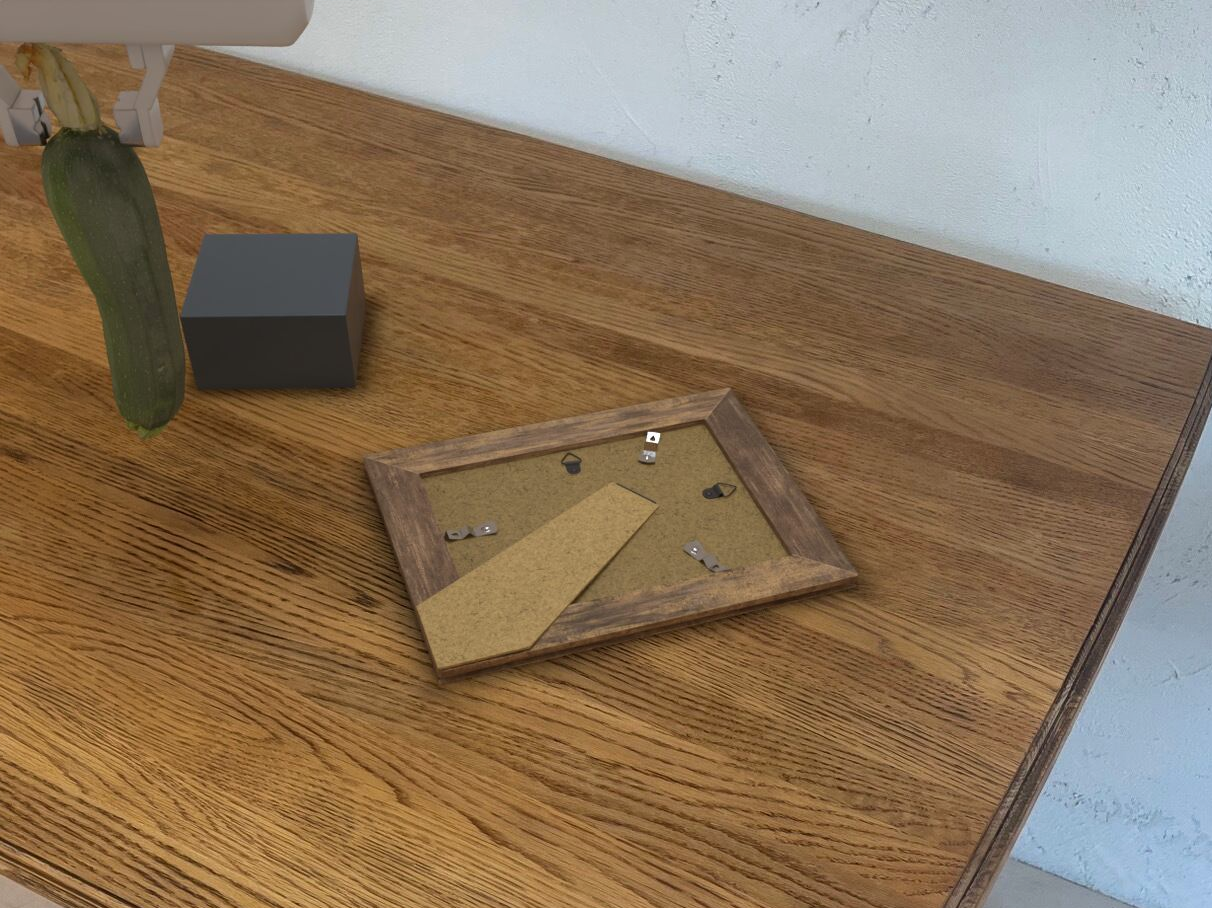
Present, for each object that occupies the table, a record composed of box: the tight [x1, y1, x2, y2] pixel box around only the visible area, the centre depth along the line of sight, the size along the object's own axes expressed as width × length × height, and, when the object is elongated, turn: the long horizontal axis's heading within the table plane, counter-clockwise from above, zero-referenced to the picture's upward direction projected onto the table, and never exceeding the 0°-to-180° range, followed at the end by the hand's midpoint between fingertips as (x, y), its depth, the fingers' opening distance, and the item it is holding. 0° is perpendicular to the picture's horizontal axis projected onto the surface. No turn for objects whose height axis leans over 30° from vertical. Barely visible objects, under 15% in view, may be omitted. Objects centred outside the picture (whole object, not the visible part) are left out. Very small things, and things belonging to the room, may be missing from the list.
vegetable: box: [13, 43, 187, 441], centre depth 61 cm, size 4×4×20 cm
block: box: [179, 232, 367, 391], centre depth 88 cm, size 10×10×6 cm
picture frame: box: [362, 387, 859, 685], centre depth 78 cm, size 19×2×24 cm
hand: (86, 141), depth 57 cm, fingers closed on vegetable, 3 cm apart
